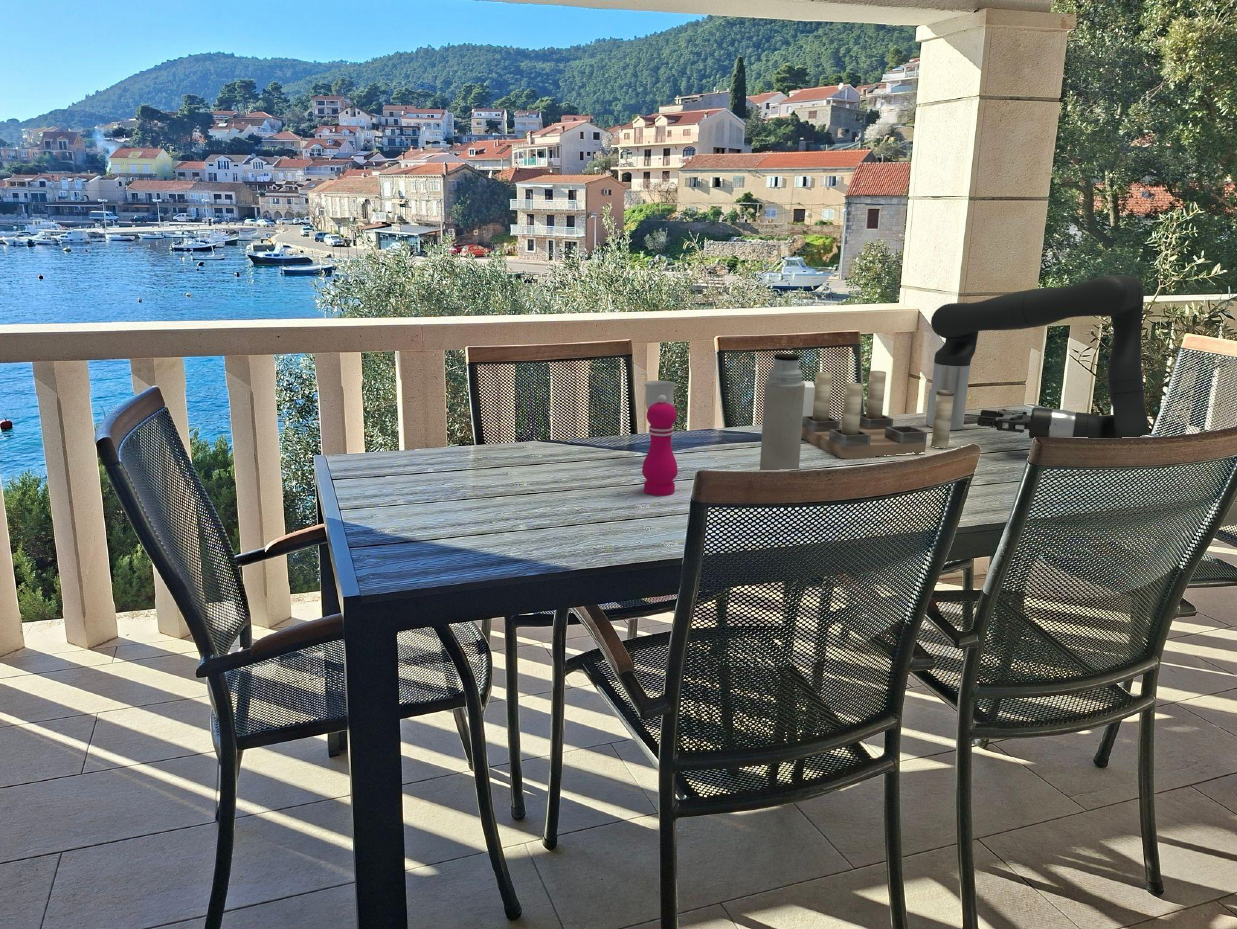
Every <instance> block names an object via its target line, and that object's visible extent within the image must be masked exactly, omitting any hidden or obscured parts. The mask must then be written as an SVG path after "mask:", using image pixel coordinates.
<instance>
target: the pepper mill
mask: <svg viewBox="0 0 1237 929" xmlns="http://www.w3.org/2000/svg"><path fill="white" fill-rule="evenodd" d="M666 400H667V398H666V396H665V395H660V396H659V397H658V403H654V404H652V405H651V406H650V407H649V409H648V410H647V411H646V420H647V422H648V424H649V426H648V434H649V435H650V444H649V450H648V451H647V454H646V456H645V458H644V459H643V460H644V461H643V464H642V468H641V473H642V476H643V477H644V478H645V480H646V481H644V482H643V491H644V492H645V493H646V494H648V495H652V496H660V497H661V496H668V495H669V496H670V495H672V494H674V493H675V491H676V490H675V489H676V488H675V486H676V485H675V484H676V483H675V482H674V480H675V479H676V477H677V476H678V473H679V472H678V463H677V460H676V457H675V455H674V452H673V447H672V435H674V426H673V425H674V424H675V422H676V421H677V416H678V415H677V410H676V409H675V406H674V405H673V406H672V405H671V404H669V403H665V402H666Z"/></svg>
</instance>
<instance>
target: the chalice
mask: <svg viewBox="0 0 1237 929" xmlns="http://www.w3.org/2000/svg"><path fill="white" fill-rule="evenodd" d="M643 384H644V386H645V407H646V410H647V411H648V409H649V407H650V406H651V405H652V404H654V403H658V397H659V396H660V395H665V396H666V398H667V400H666V402H665V403H669V404H671V405H672V406H673V407H674V390H675V387H676V386H677V383H676V382H674V381H669V380H647V381H644V382H643Z"/></svg>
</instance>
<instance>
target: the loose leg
mask: <svg viewBox="0 0 1237 929" xmlns="http://www.w3.org/2000/svg"><path fill="white" fill-rule="evenodd" d="M953 399H954V391H950V390H937V396H936V405H935V414H934V424H933V428H932V434H931V442H930V444H931V445H930V447H931V446H934V447H939V448H944V447H945V448H947V447H948V448H949V443H950V442H949V441H950V435H951V434H950V432H951V430H950V426H951V417H952V408H953ZM948 448H947V449H948Z"/></svg>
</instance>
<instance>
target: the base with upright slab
mask: <svg viewBox="0 0 1237 929" xmlns="http://www.w3.org/2000/svg"><path fill="white" fill-rule="evenodd" d="M802 382H804V383H805V391H804V405H803V416H813V405H814V392H815V382H814V381H810V380H809V381H808V380H807V381H806V380H804V381H803V380H802Z"/></svg>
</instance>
